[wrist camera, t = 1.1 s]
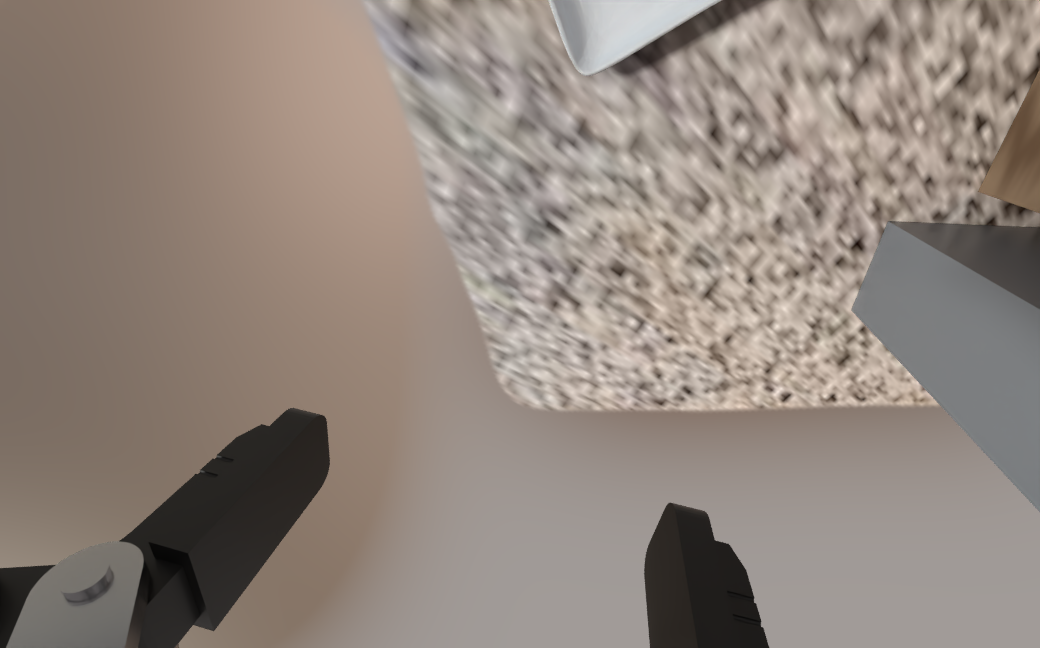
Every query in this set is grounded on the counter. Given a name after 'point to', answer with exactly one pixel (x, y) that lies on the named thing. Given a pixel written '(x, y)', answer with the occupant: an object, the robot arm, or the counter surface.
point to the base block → (966, 330)
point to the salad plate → (617, 27)
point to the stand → (1019, 157)
